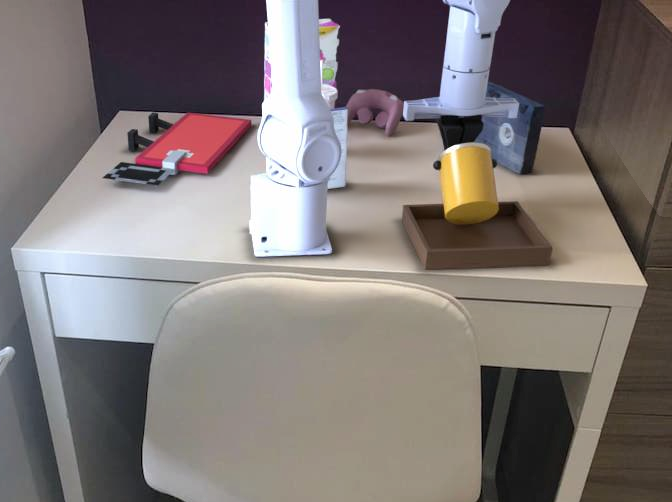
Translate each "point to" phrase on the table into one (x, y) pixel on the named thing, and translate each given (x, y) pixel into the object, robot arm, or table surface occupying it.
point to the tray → (475, 238)
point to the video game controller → (378, 100)
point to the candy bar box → (328, 54)
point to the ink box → (342, 133)
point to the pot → (468, 183)
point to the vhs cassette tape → (513, 131)
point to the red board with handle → (180, 147)
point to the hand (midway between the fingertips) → (452, 171)
